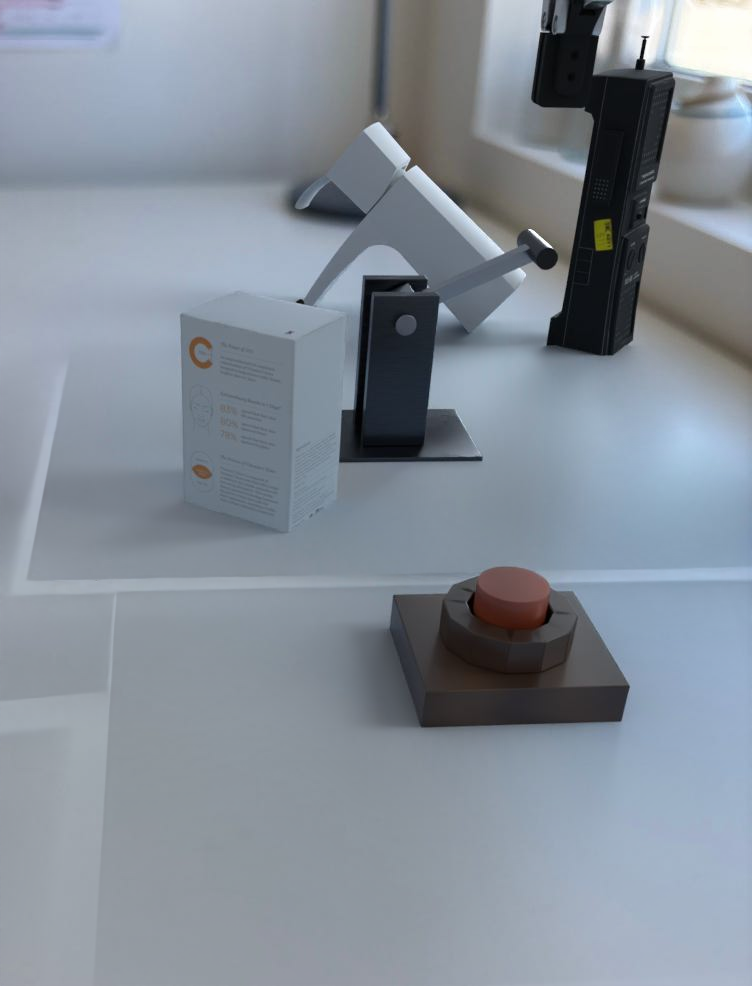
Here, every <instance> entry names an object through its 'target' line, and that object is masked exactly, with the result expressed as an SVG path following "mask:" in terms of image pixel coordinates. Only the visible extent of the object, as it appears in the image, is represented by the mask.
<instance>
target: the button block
mask: <svg viewBox="0 0 752 986" xmlns="http://www.w3.org/2000/svg"><path fill="white" fill-rule="evenodd" d="M478 576H479V575H476V576H473V577H470V578H468V579H467V578H466V579H465V580H462V581H459V582H456V583H454V584H452V586H451V587H450V588H449V590H448V591H447V593H410V594H409V593H408V594H406V593H405V594H401V593H400V594H393V595H392V602H391V609H390V610H391V611H390V620H389V621H390V622H389V630H390V634H391V637H392V639H393V643H394V646H395V649H396V652H397V656H398V658H399V662H400V665H401V669H402V671H403V674H404V678H405V680H406V684H407V687H408V690H409V693H410V696H411V699H412V702H413V706H414V709H415V712H416V716H417V718H418V721H419V724H420V727H421V728H449V727H450V728H451V727H452V728H455V727H483V726H487V727H488V726H516V725H517V726H520V725H548V724H549V725H550V724H551V725H553V724H581V723H582V724H583V723H610V722H611V723H613V722H614V723H615V722H617V723H618V722H623V721H622V720H623V717H624V713H625V709H626V704H627V701H628V696H629V692H630V688H631V685H630V683H629V682H628V680H627V678H626V677H625V675H624V673H623V672H622V670H621V668H620V667H619V665H618V663H617V662H616V660H615V658H614V657H613V655H612V653H611V652H610V650H609V648H608V647H607V644H605V642H604V640H603V639H602V637H601V635H600V633H599V632H598V630H597V629H596V628H597V627H596V626H595V625H594V624H593V622H592V620H591V618H590V617H589V614H588V613H587V612H586V610H585V608H584V607H583V605H582V604H581V602H580V600H579V599H578V596H577V595H576V593H575V591H573V590H555V589H554V588H552V587H550V588H551V591H550V596H549V602H548V607H547V612H546V618H545V621H544V623H543V624H542V625H541V626H540V627H538V628H535V629H533V630H508V629H504V628H500V627H496V626H492V625H488V624H486V623H485V622H483V621H482V620H480V619H478V618H477V617H475V615H474V612H473V605H474V598H475V591H476V584H477V578H478Z"/></svg>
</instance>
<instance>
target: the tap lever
mask: <svg viewBox="0 0 752 986" xmlns="http://www.w3.org/2000/svg"><path fill="white" fill-rule="evenodd" d="M516 246H517V247H515V248H513V249H511V250H508V251H506V252H504V254H502V255H500V256H497V257H495V258H493V259H491V260H488V261H486V262H484V263H482V264H480V265H477V266H475V267H473V268H471V269H469V270H466V271H464V272H462V273H460V274H458V275H455V276H453V277H451V278H449V279H446V280H444V281H442V282H440V283H438V284H435V285H433V286H431V287H429V286H428V287H427V289H424V290H422V291H420V292H437V293H438V295H439V296H440V300H439V305H440V304H443V302H444V301H447V300H449V299H451V298H453V297H455V296H458V295H460V294H462V293H464V292H467V291H469V290H471V289H473V288H475V287H478V286H480V285H482V284H484V283H487V282H489V281H491V280H493V279H496V278H498V277H500V276H502V275H504V274H507V273H509V272H511V271H513V270H516V269H518V268H520V269H521V268H522V267H524V266H526V265H529V264H531V263H533V264H535V265H536V266H537V267H538V268H539V269H540V270H542V271H549V270H552V269H553V268H554V267H555V266H556V265H557V263H558V261H559V254H558V252H557V250H556V249H555V248H554V247H553V246H551V244H549V243H548V242H547V241H546V240H545V239H543V238H542V236H540V235H539V234H538V233H537V232H535V231H534V230H532V229H529V228H528V229H524V230H522V231H520V233H519V234H518V235H517V237H516ZM390 292H414V291H413V289H412V288H411V286H410V285H409V284H405V285H403V286H401V287H399V288H396V289H394V290H392V291H390Z"/></svg>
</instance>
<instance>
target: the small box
mask: <svg viewBox="0 0 752 986" xmlns="http://www.w3.org/2000/svg"><path fill="white" fill-rule="evenodd" d="M347 317H348V314H347V312H343V311H337V310H333V309H329V308H328V309H327V308H323V307H319V306H315V307H313V306H309V305H304V304H299V303H295V302H294V301H290V300H284V299H280V298H275V297H269V296H265V295H261V294H256V293H251V292H246V291H242V290H237V291H234V292H232V293H231V292H230V293H228V294H227V295H224V296H221V297H219V298H216V299H213V300H211V301H208V302H205V303H203V304H200V305H198V306H195V307H193V308H190V309H188V310H185V311H182V312H181V313H180V314H179V318H180V320H179V323H180V357H181V359H180V360H181V364H180V365H181V408H182V411H181V412H182V459H183V460H182V463H183V465H182V466H183V467H182V468H183V469H182V470H183V500H184V502H187V503H190V504H191V505H195V506H198V507H201V508H204V509H207V510H210V511H214V512H216V513H220V514H222V515H226V516H229V517H232V518H236V519H237V520H238V519H239V520H241V521H245V522H247V523H251V524H254V525H257V526H260V527H263V528H267V529H270V530H273V531H277V532H279V533H280V532H281V533H283V534H289V533H290V532H292V531H293V530H295V529H296V528H297V527H299V526H301V525H302V524H303V523H304V522H306V521H307V520H309V519H310V518H312V517H313V516H315V515H316V514H318V513H319V512H320V511H322V510H323V509H325V508H326V507H327V506H329V505H330V504H331V503H333V502H334V501H336V500H337V499H338V488H339V487H338V486H339V485H338V484H339V469H340V468H339V467H340V463H339V453H340V436H341V413H342V410H343V394H344V378H345V377H344V375H345V356H346V355H345V354H346V339H347V338H346V337H347Z"/></svg>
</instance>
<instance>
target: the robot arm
mask: <svg viewBox="0 0 752 986" xmlns="http://www.w3.org/2000/svg"><path fill="white" fill-rule="evenodd" d="M614 1H615V0H542V7H541V16H540V30H541V31H540V32H539V37H538V43H537V52H536V59H535V64H534V65H535V67H534V74H533V79H532V80H533V81H532V87H531V95H530V99H531V102H532V103H533V104H535V105H537V106H539V107H541V108H543V109H544V108H545V109H547V108H548V109H549V108H550V109H551V108H552V109H553V108H554V109H583V108H584V109H585V106H587V104H588V101H589V95H590V89H591V83H592V77H593V75H594V71H595V64H596V60H597V59H596V58H597V52H598V46H599V40H600V36H601V34H602V30H603V26H604V22H605V17H606V13H607V7H608V5H610V4H611V3H613V2H614Z"/></svg>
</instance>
